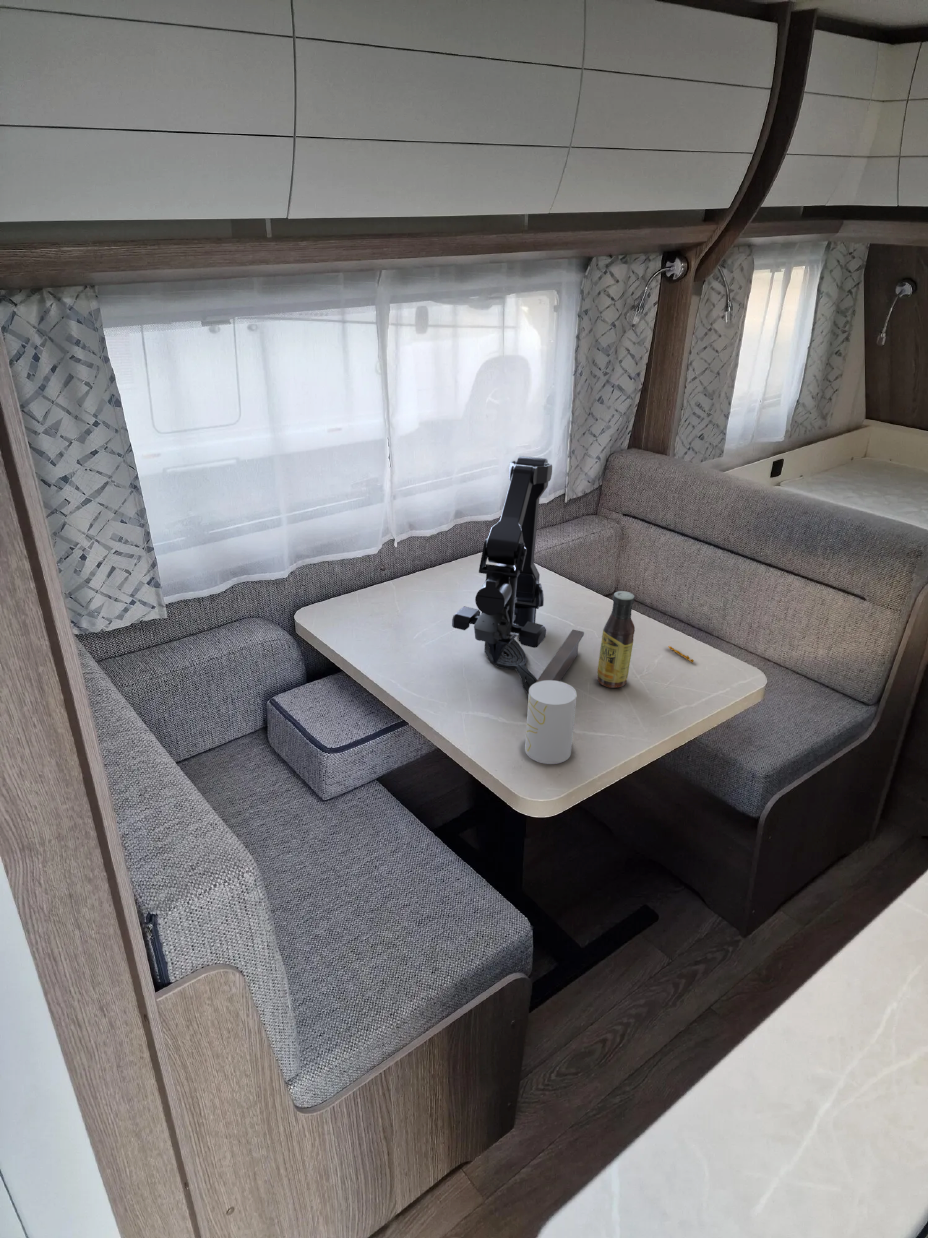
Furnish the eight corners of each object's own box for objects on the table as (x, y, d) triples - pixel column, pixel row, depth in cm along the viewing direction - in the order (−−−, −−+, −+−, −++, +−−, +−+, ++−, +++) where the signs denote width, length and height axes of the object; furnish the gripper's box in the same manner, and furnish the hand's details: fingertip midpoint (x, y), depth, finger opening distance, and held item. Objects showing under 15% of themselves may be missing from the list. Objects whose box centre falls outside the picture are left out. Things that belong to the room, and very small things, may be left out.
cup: (521, 738, 148) (525, 680, 143) (566, 737, 149) (571, 679, 144) (528, 764, 141) (533, 705, 136) (575, 763, 142) (581, 704, 136)
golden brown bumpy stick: (694, 662, 176) (695, 658, 175) (690, 663, 175) (691, 659, 175) (669, 647, 182) (670, 643, 181) (666, 648, 181) (666, 644, 181)
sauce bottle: (590, 677, 169) (599, 589, 160) (616, 672, 171) (627, 585, 162) (607, 692, 163) (617, 602, 155) (633, 687, 166) (645, 598, 157)
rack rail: (570, 653, 179) (572, 629, 176) (582, 655, 178) (584, 631, 175) (529, 715, 155) (530, 689, 153) (542, 718, 154) (544, 692, 152)
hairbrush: (519, 690, 158) (478, 628, 179) (517, 705, 160) (477, 643, 181) (558, 684, 160) (513, 624, 181) (556, 700, 162) (512, 639, 183)
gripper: (442, 599, 160) (438, 668, 167) (531, 620, 154) (524, 691, 160) (465, 579, 169) (461, 646, 176) (550, 599, 163) (542, 667, 170)
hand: (495, 662), depth 170 cm, fingers closed
